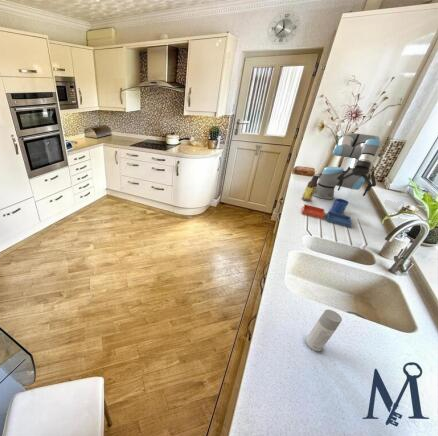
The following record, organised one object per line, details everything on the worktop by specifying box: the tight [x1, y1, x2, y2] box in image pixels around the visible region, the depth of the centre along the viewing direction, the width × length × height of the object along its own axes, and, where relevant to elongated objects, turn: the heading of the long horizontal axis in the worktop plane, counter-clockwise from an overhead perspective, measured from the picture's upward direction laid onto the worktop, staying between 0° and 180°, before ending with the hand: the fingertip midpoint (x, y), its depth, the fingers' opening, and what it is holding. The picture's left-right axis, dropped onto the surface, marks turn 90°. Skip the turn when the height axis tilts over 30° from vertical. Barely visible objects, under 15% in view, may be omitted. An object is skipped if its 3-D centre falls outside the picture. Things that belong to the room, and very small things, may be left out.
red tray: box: [301, 203, 325, 220], centre depth 160 cm, size 12×12×2 cm
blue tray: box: [326, 210, 353, 228], centre depth 152 cm, size 12×12×2 cm
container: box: [305, 309, 343, 353], centre depth 74 cm, size 5×5×15 cm
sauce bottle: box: [301, 173, 320, 202], centre depth 175 cm, size 7×6×20 cm
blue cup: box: [329, 198, 350, 215], centre depth 161 cm, size 8×8×9 cm
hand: (350, 192), depth 154 cm, fingers open, 13 cm apart
